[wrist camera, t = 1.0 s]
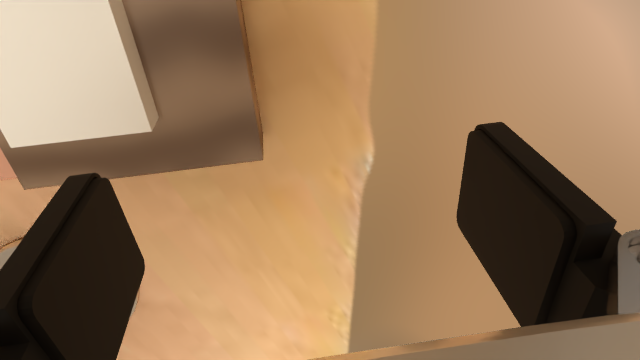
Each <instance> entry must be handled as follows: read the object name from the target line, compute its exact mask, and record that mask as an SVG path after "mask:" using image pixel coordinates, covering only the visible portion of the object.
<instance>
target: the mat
mask: <svg viewBox="0 0 640 360" xmlns="http://www.w3.org/2000/svg"><path fill="white" fill-rule="evenodd" d="M13 178H17V176H16V174H15V173H14V171H13V169H12V167H11V166H10V164H9V162H8V160H7V159H6V157H5V155H4V154H3V152H2V150H1V148H0V180H5V179H13Z"/></svg>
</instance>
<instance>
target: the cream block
mask: <svg viewBox="0 0 640 360" xmlns="http://www.w3.org/2000/svg"><path fill="white" fill-rule="evenodd" d="M158 118H159V116H158V113H157V110H156V107H155V104H154V101H153V98H152V94H151V91H150V88H149V85H148V82H147V79H146V75H145V72H144V69H143V66H142V63H141V60H140V56H139V53H138V50H137V47H136V44H135V41H134V37H133V34H132V31H131V28H130V25H129V22H128V18H127V15H126V12H125V9H124V6H123V3H122V0H0V129H1V131H2V133H3V135H4V137H5V138H6V140H7V142H8V144H9V146H10V147H11V148H15V147H24V146H32V145H41V144H49V143H58V142H66V141H75V140H84V139H92V138H101V137H109V136H118V135H126V134H135V133H143V132H152V130H153V128H154V126H155V124H156V122H157V120H158Z"/></svg>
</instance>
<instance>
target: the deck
mask: <svg viewBox="0 0 640 360" xmlns="http://www.w3.org/2000/svg"><path fill="white" fill-rule="evenodd" d="M122 3H123V6H124V9H125V12H126V15H127V18H128V22H129V25H130V28H131V31H132V34H133V37H134V41H135V44H136V47H137V50H138V53H139V56H140V60H141V63H142V66H143V69H144V72H145V75H146V79H147V82H148V85H149V88H150V91H151V94H152V98H153V101H154V104H155V107H156V110H157V113H158V116H159V118H158V120H157V122H156V124H155V126H154V128H153V130H152V132H143V133H135V134H126V135H118V136H109V137H101V138H92V139H84V140H75V141H66V142H58V143H49V144H41V145H32V146H24V147H15V148H11V147H10V146H9V144H8V142H7V140H6V138H5V137H4V135H3V133H2V131H1V129H0V148H1V150H2V152H3V154H4V155H5V157H6V159H7V160H8V162H9V164H10V166H11V167H12V169H13V171H14V173H15V174H16V176H17V178H18V179H19V181H20V183H21V185H22V186H23V188H24V190H25V189H33V188H41V187H49V186H57V185H62V184H63V183H64V182H65V180H66V179H67V178H68V177H69V176H72V175H80V174H88V173H98V174H99V175H100V176H101V178H104V177H105V178H107V179H114V178H122V177H130V176H138V175H146V174H154V173H163V172H171V171H179V170H187V169H195V168H203V167H211V166H219V165H227V164H235V163H243V162H252V161H260V160H263V132H262V126H261V120H260V114H259V108H258V102H257V96H256V90H255V83H254V77H253V71H252V65H251V59H250V53H249V47H248V41H247V35H246V29H245V23H244V17H243V11H242V5H241V0H122Z"/></svg>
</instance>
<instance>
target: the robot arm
mask: <svg viewBox="0 0 640 360" xmlns="http://www.w3.org/2000/svg"><path fill="white" fill-rule="evenodd" d="M616 222H617V221H616V220H615V219H613V218H612V217H611V216H610V215H609V214H608V213H607V212H606V211H604V210H603V209H602V208H601V207H600V206H599V205H598V204H596V203H595V202H594V201H593V200H592V199H591V198H589V197H588V196H587V195H586V194H585V193H584V192H583V191H581V190H580V189H579V188H578V187H577V186H575V185H574V184H573V183H572V182H571V181H570V180H569V179H568V178H566V177H565V176H564V175H563V174H562V173H561V172H559V171H558V170H557V169H556V168H555V167H554V166H553V165H551V164H550V163H549V162H548V161H547V160H546V159H545V158H543V157H542V156H541V155H540V154H539V153H538V152H536V151H535V150H534V149H533V148H532V147H531V146H530V145H528V144H527V143H526V142H525V141H524V140H522V138H520V137H519V136H518V135H517V134H516V133H515V132H513V131H512V130H511V129H510V128H509V127H508V126H506V125H505V124H504V123H502V122H496V123H488V124H480V125H477V126H476V128H475V130H474V131H471V132H470V133H469V135H468V139H467V146H466V153H465V161H464V167H463V174H462V181H461V189H460V195H459V203H458V209H457V223H458V226H459V228H460V230H461V232H462V233H463V235H464V237H465V238H466V240H467V241H468V243H469V244H470V246H471V248H472V249H473V251H474V252H475V254H476V256H477V257H478V259H479V260H480V262H481V263H482V265H483V267H484V268H485V270H486V271H487V273H488V275H489V276H490V278H491V279H492V281H493V282H494V284H495V286H496V287H497V289H498V291H499V292H500V294H501V295H502V297H503V299H504V300H505V302H506V303H507V305H508V307H509V308H510V310H511V311H512V313H513V315H514V316H515V318H516V319H517V321H518V323H519V324H520V326H521V327H518V328H512V329H505V330H499V331H492V332H486V333H479V334H472V335H465V336H459V337H452V338H446V339H439V340H433V341H426V342H419V343H413V344H406V345H399V346H393V347H386V348H380V349H373V350H367V351H361V352H354V353H348V354H341V355H335V356H328V357H322V358H316V359H309V360H640V230H633V231H629V232H626V233H625V234H624V235H621V234H620V233H618V232H617V231H616V230H615V229H614V227H615V224H616ZM144 270H145V264H144V259H143V256H142V254H141V252H140V249H139V247H138V245H137V243H136V240H135V238H134V236H133V233H132V231H131V229H130V226H129V224H128V222H127V220H126V217H125V215H124V213H123V210H122V208H121V206H120V204H119V201H118V199H117V197H116V194H115V192H114V190H113V188H112V185H111V183H110V181H109V180H108V179H107V178H105V177H104V178H101V176H100V175H99V174H98V173H88V174H80V175H72V176H69V177H68V178H67V179H66V180H65V182H64V183H63V184H62V186H61V187H60V188H59V190H58V191H57V193H56V194H55V195H54V197H53V198H52V199H51V201H50V202H49V204H48V205H47V206H46V208H45V209H44V210H43V212H42V213H41V215H40V216H39V217H38V219H37V220H36V221H35V223H34V224H33V225H32V227H31V228H30V230H29V231H28V232H27V234H26V235H25V236H24V238H23V239H21V240H17V241H15V242H12V243H10V244H8V245H6V246H4V247H3V248H1V249H0V360H116V358H117V355H118V352H119V349H120V346H121V343H122V340H123V337H124V333H125V330H126V327H127V324H128V321H129V319H130V318H131V316H132V314H133V313H134V311H135V308H136V305H137V302H138V296H139V287H140V284H141V281H142V278H143V275H144Z"/></svg>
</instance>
